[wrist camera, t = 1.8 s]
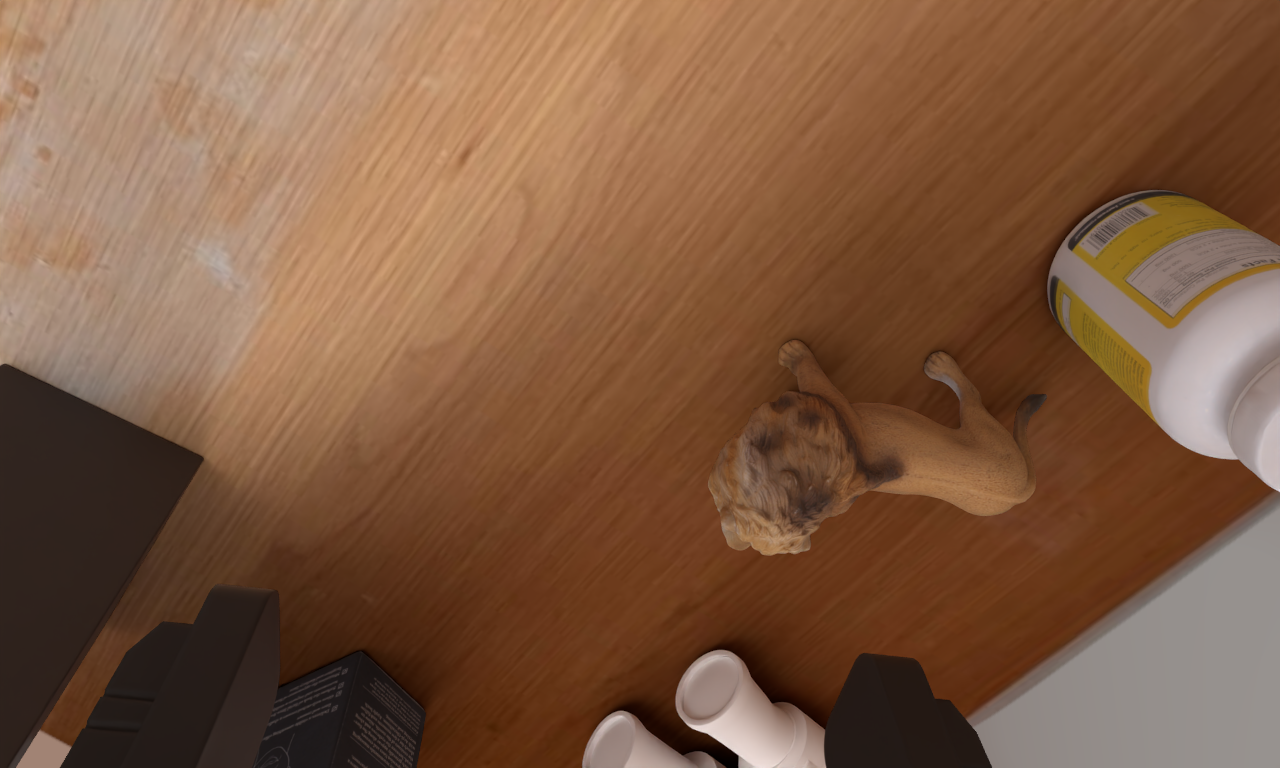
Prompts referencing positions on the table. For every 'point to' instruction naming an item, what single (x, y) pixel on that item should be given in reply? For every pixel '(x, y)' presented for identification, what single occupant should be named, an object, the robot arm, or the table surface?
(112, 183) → the table surface
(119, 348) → the table surface
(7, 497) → the dark block with slot
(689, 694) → the binoculars
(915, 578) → the table surface
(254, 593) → the robot arm
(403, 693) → the box
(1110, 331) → the pill bottle
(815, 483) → the lion figurine
